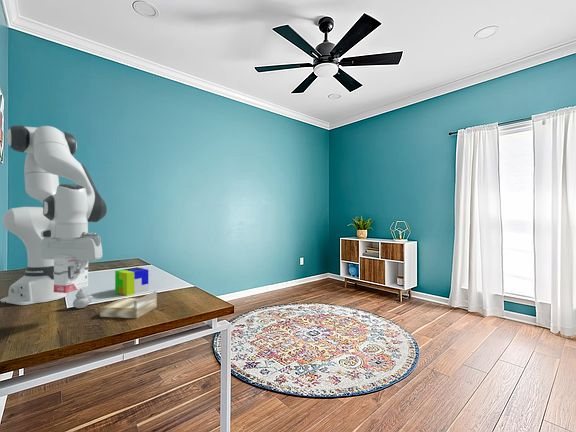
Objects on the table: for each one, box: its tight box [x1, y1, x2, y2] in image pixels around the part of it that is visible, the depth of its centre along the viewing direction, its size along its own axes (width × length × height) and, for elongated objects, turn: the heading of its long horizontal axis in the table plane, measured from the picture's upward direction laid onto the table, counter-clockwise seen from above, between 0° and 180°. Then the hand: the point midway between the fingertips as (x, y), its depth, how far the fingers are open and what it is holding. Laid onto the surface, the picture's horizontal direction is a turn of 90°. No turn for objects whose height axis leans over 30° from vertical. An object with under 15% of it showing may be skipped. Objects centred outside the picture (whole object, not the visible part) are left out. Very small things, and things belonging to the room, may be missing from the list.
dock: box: [99, 291, 158, 319], centre depth 104 cm, size 14×12×6 cm
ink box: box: [54, 255, 89, 294], centre depth 95 cm, size 9×5×12 cm, turn 169°
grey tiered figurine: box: [72, 288, 93, 309], centre depth 109 cm, size 5×7×8 cm
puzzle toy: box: [114, 267, 149, 297], centre depth 131 cm, size 10×10×10 cm
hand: (71, 272), depth 95 cm, fingers closed on ink box, 5 cm apart
